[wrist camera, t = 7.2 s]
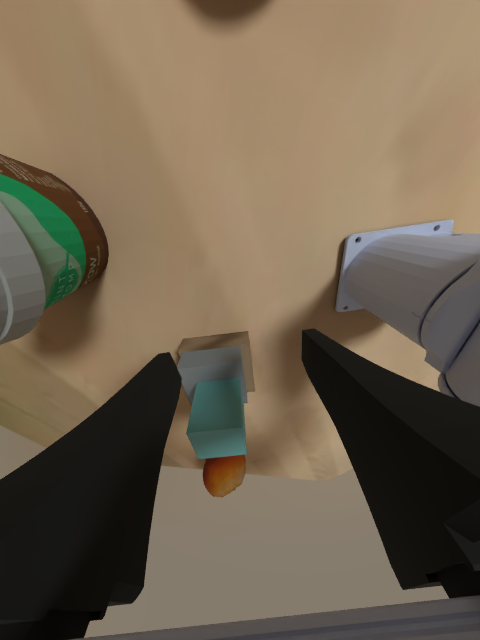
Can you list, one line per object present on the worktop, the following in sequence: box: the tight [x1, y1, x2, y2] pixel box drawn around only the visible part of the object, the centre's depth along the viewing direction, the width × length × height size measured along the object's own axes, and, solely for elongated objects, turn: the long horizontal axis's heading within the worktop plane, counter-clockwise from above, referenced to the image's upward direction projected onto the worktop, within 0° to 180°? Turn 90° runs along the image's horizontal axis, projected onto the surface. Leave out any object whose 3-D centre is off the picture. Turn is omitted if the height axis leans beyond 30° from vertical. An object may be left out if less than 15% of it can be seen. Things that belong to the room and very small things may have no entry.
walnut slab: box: [178, 331, 255, 392], centre depth 23 cm, size 8×8×3 cm
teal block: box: [186, 378, 247, 459], centre depth 17 cm, size 4×4×5 cm
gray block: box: [177, 346, 248, 406], centre depth 20 cm, size 6×6×2 cm
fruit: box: [203, 455, 245, 497], centre depth 33 cm, size 8×8×8 cm
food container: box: [0, 154, 109, 345], centre depth 12 cm, size 12×6×10 cm, turn 148°
